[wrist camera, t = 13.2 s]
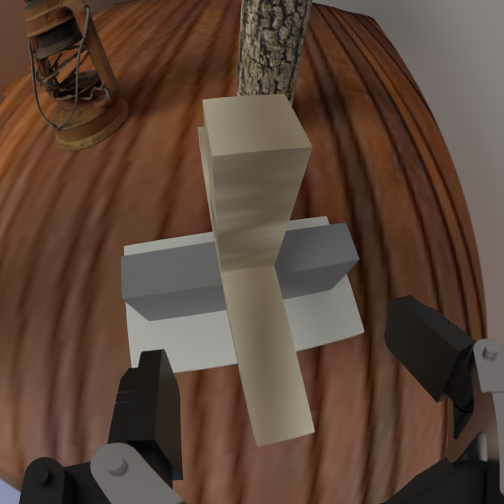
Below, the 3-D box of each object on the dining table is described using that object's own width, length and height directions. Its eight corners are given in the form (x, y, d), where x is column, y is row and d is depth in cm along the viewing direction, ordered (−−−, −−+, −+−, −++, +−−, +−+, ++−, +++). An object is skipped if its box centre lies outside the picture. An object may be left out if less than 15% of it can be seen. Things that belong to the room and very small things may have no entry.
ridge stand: (138, 376, 22) (99, 371, 15) (128, 253, 27) (99, 207, 20) (357, 335, 25) (402, 313, 17) (322, 223, 30) (347, 174, 22)
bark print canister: (293, 121, 37) (327, -48, 14) (276, 149, 34) (311, -52, 12) (248, 107, 38) (262, -57, 15) (227, 133, 35) (232, -59, 12)
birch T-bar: (254, 439, 14) (292, 525, 4) (199, 145, 23) (191, 24, 13) (305, 427, 14) (413, 476, 4) (234, 140, 23) (239, 21, 13)
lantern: (155, 104, 37) (133, -79, 11) (101, 161, 32) (34, -55, 5) (84, 94, 39) (49, -44, 12) (35, 142, 34) (-26, -6, 7)
